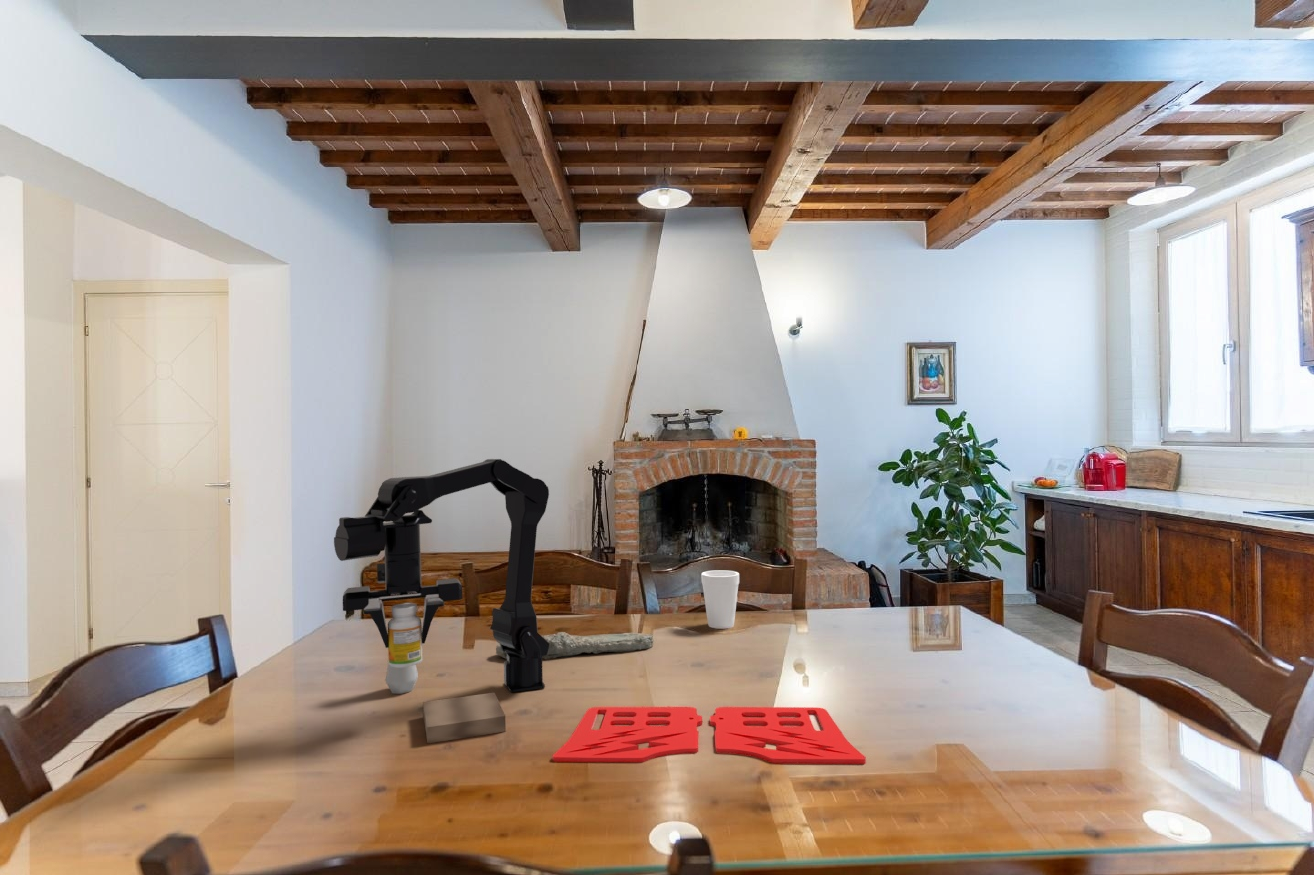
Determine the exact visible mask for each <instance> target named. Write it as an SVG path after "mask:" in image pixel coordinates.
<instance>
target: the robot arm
mask: <svg viewBox="0 0 1314 875" xmlns="http://www.w3.org/2000/svg"><path fill="white" fill-rule="evenodd" d="M486 484H491V485H492V486H493V488H495V490H496V491H498V492H499V493H500V494H501V495H503V496H505V497H504V499H505V509H506V512H507V515H508V518H509V521H510V526H511V527H510V538H509V548H508V550H509V551H508V561H507V562H508V563H507V569H506V570H507V572H506V586H505V594H504V595H505V596H504V600H503V602H502V603H501V605H500V607H499V608H497V607H493V609H492V611H491V612H492V613H491V614H492V615H491V616H492V621H491V626H490V627H489V630H491V631H492V635H493V636H492V637H493V639H494V640H495V641H496V642H497V644H500V646H501V649H502V651H503V652H507V658H506V660H505V661H504V662H503V679H504V680H503V683H504V685H505V686H506V687H507V688H508V691H509V692H510V693H516V692H524V691H531V690H539V689H544V688H546V684H545V683H544V682H543V679H544V678H543V659H542V656H545V655H547V653H548V649H549V645H550V644H549V643H548V642H547V641H546V640H545V639H544V638H543V637H542V636H543V635H541V634H540V633H539V632H538V618H537V614H536V611H535V609H534V606H533V604H532V593H533V590H532V589H533V578H534V566H535V555H536V546H537V545H536V542H537V531H538V525H539V523H540V521H541V519H542V518H543V516H544V515H545V514H546V510H547V505H548V501H549V498H550V490H549V486H548V485H547V484H546V482H545V481H543V479H540V478H538V477H537V478H534V477H532V476H531V475H530V474H527V473H526V472H524V471H522V470H520V469H518V468H516V467H514V466H512V465H511V464H510V463H508V461H506V460H504V459H501V458H488V459H485V460H483V461H481V462H479V463H478V462H477V463H473V464H470V465H465V466H462V467H458V468H454V469H451V470H447V471H443V472H439V473H435V474H431V475H422V476H419V475H418V476H404V477H403V476H402V477H400V476H399V477H392V478H388V479H386V480H384V481H382V483H381V484H380V486H379V488H378V493H377V498H376V499H375V500H374V502H373V503H372V504H371V506H370V508H369V509H368V511H366V514H365V515H364V516H358V517H357V516H356V517H350V516H345V517H340V518H339V519H338V521H339V522H338V523H339V525H338V527H337V528H336V531H335V535H334V537H333V544H334V545H333V546H334V552H335V554H336V557H337V558H338V560H339V561H340V562H344V561H345V562H346V561H350V560H357V559H358V560H359V559H366V558H373V557H378V556H379V555H380V554H381V552H384V563H377V564H376V579H377V580H376V581H377V584H384V583H385V589H381V590H370V589H371V588H370V585H368V586H367V585H366V586H356V587H347V588H346V590H344V591H343V595H342V611H343V612H350V611H361V610H363V611H362V612H363V615H370V617H371V619H372V621H373V622H374V624H375V625H376V628H377V629H378V632H379V634H380V636H381V639H382V641H383V644H384V647H385V648H386V649H388V626H387V622H386V621H387V620H386V616H385V609H384V602H391V601H400V600H412V599H413V600H414V599H421V598H424V607H423V619H422V645H424V644H425V643H426V640H427V637H428V634H429V632H430V628H431V625H432V621H433V619H434V617H435V615H436V613H437V611H438V609H439V608H442V607H445V602H450V601H452V602H453V601H461V600H463V585H462V583H461V580H459V579H458V578H457V577H456V578H455V577H454V578H447V579H446V578H444V579H437V580H436V585H435V584H433V585H422V563H421V562H422V560H421V559H422V558H421V556H422V554H421V553H422V552H421V528H420V527H421V526H420V525H426V524H432V522H433V519H432V518H430V517H429V516H428V515H427V514H425V513H424V511H423V510H422V508H425V507H426V506H428V505H430V504H433V502H434V501H436V500H437V499H440V498H441V497H443V496H447V495H451V494H454V493H457V492H461V491H466V490H469V489H472V488H475V487H479V486H482V485H486ZM410 513H411V514H410ZM406 514H407V515H406Z"/></svg>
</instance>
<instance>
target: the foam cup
mask: <svg viewBox="0 0 1314 875" xmlns="http://www.w3.org/2000/svg"><path fill="white" fill-rule="evenodd" d="M700 575H701V584H702V591H703V597H704V604H705V612H706V619H707V624H708V627H709V628H712V629H719V630H721V629H730V628H733V627H734V626H735V619H736V618H735V617H736V610H737V603H738V602H737V601H738V592H739V591H738V590H739V584H740V573H739V572H738V571H735V570H726V569H725V570H722V569H721V570H719V569H718V570H717V569H716V570H706V571H703V572H701V574H700Z"/></svg>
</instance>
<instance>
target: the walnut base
mask: <svg viewBox="0 0 1314 875" xmlns="http://www.w3.org/2000/svg"><path fill="white" fill-rule="evenodd" d="M422 718H423V725H424V731H425V737H426V743H427V744H435V743H441V742H446V741H453V740H458V739H459V740H460V739H467V738H472V737H479V736H485V735H486V736H487V735H491V734H498V733H505V732H506V731H507V729H506V728H507V726H506V725H507V724H506V714H505V712H504V710H503V708H502V706H501V703H500V701H499V699H498V696H497V695H496V693H495V692H489V693H482V694H474V695H472V694H471V695H466V696H460V697H459V696H458V697H451V698H446V699H445V698H444V699H437V700H430V701H428V700H427V701H422Z"/></svg>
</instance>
